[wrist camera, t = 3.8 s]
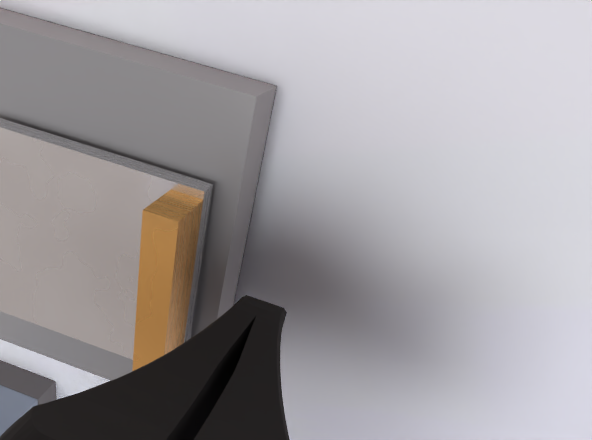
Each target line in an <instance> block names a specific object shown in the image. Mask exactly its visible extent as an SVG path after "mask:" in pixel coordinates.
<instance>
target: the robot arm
mask: <svg viewBox="0 0 592 440" xmlns="http://www.w3.org/2000/svg"><path fill="white" fill-rule="evenodd" d="M285 316H286V311H285V309H284V308H282V307H279V306H276V305H273V304H270V303H267V302H264V301H261V300H259V299H256V298H253V297H250V296H247V295H246V296H244V297H242V298H241V299H240V300H239V301H238V302H237V303H236V304H235V305H234V306H232V307H231V308H230V309H229V310H228V311H227V312H225V313H224V314H223V315H222V316H221V317H219V318H218V319H217V320H215V321H214V322H213V323H211V324H210V325H209V326H207V327H206V328H205V329H204V330H202V331H201V332H199V333H198V334H197V335H195V336H193V337H192V338H190V339H189V340H187V341H186V342H184V343H183V344H181V345H180V346H178V347H177V348H175V349H173V350H172V351H170V352H168V353H167V354H165V355H163V356H162V357H160V358H158V359H156V360H154V361H152V362H150V363H149V364H147V365H144V366H142V367H140V368H138V369H136V370H134V371H132V372H130V373H128V374H126V375H123V376H121V377H119V378H117V379H114V380H112V381H109V382H106V383H104V384H101V385H99V386H96V387H94V388H91V389H88V390H86V391H83V392H80V393H77V394H74V395H71V396H68V397H64V398H61V399H57V400H54V401H51V402H47V403H44V404H40V405H36V406H33V407H32V408H31V409H30V410H29V411H27V412H26V413H25V414H24V415H23V416H22V417H20V418H19V419H18V420H17V421H16V422H14V423H13V424H12V425H11V426H10V427H9V428H8V429H7V430H6V431H5V432H4V433H3V434H2V435H1V436H0V440H289V436H288V431H287V426H286V420H285V414H284V407H283V400H282V390H281V376H280V342H281V332H282V327H283V323H284V320H285Z"/></svg>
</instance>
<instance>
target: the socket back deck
mask: <svg viewBox="0 0 592 440" xmlns="http://www.w3.org/2000/svg"><path fill="white" fill-rule="evenodd" d="M40 25H59V24H55V23H52V22H48V21H45V20H41V19H37V18H34V17H30V16H27V15H23V14H20V13H16V12H13V11H9V10H6V9H2V8H0V118H2V119H5V120H9V121H12V122H15V123H18V124H19V122H18V109H17V96H16V84H15V71H14V58H13V46H12V33H11V26H40ZM0 339H2V340H5V341H7V342H10V343H13V344H15V345H18V346H21V347H23V348H26V349H29V350H31V351H34V352H37V350H36V337H35V325H34V323H31V322H28V321H26V320H23V319H20V318H17V317H15V316H12V315H9V314H7V313H4V312H1V311H0Z"/></svg>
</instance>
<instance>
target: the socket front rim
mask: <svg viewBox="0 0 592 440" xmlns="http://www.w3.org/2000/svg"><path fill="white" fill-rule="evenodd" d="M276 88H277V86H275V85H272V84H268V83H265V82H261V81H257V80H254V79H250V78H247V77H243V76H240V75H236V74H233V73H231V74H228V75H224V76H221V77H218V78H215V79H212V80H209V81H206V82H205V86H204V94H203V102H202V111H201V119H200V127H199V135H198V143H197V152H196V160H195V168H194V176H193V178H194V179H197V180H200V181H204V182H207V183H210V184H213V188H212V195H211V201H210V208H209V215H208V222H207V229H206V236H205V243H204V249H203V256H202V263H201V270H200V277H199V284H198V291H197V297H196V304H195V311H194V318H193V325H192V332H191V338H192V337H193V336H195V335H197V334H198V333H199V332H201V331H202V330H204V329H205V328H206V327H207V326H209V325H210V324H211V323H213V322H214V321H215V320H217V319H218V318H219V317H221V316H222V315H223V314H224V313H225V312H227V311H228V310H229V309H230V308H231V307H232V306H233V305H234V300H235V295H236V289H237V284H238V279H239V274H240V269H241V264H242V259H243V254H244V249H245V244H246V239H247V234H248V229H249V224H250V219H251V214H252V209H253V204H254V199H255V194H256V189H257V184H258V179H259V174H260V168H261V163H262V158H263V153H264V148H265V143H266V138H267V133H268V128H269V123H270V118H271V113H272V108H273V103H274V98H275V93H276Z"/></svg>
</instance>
